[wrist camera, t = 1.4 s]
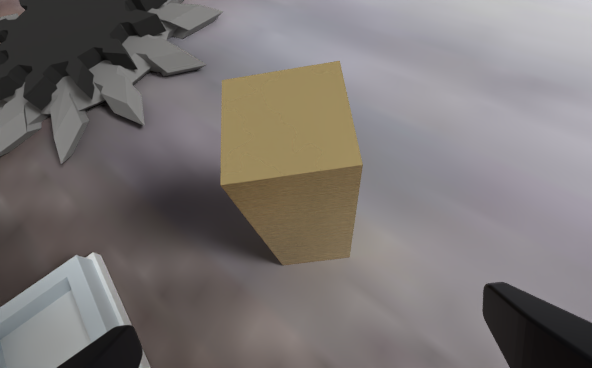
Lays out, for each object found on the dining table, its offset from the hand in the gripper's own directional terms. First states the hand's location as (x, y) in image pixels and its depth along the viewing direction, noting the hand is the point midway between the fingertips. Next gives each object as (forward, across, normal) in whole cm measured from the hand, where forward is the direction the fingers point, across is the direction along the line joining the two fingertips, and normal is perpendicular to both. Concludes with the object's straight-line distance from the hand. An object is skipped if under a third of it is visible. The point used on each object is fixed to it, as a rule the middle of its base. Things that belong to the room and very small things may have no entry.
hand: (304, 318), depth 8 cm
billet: (+13, 0, +4) cm, 14 cm away
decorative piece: (+30, +21, -12) cm, 39 cm away
